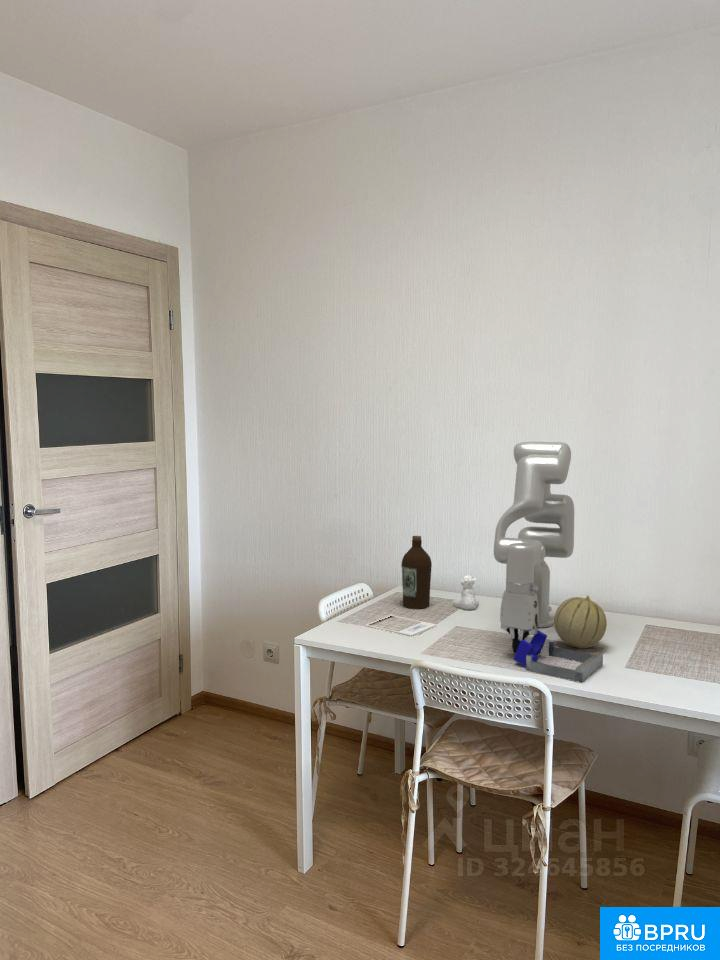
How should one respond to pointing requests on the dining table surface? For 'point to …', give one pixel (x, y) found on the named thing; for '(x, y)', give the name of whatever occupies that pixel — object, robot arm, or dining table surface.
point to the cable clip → (530, 648)
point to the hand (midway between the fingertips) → (518, 652)
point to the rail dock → (579, 674)
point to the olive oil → (416, 576)
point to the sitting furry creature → (467, 594)
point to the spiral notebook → (411, 630)
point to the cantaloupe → (580, 622)
